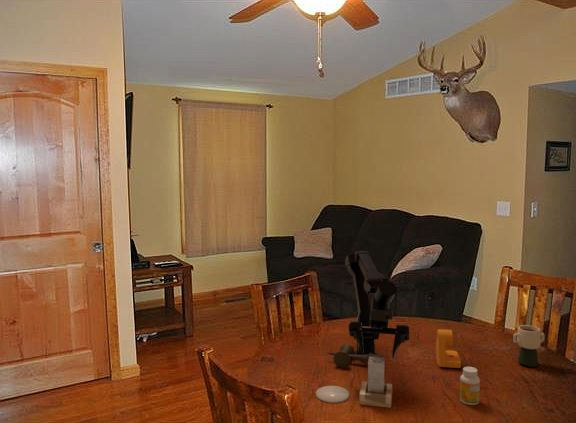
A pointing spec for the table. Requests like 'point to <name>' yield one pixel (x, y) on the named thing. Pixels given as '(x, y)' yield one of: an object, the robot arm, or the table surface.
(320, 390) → the coaster
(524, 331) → the character mug
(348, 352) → the kendama
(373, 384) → the steel peg
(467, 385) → the supplement bottle
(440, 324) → the table surface
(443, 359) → the bracket
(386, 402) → the collar
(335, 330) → the table surface
